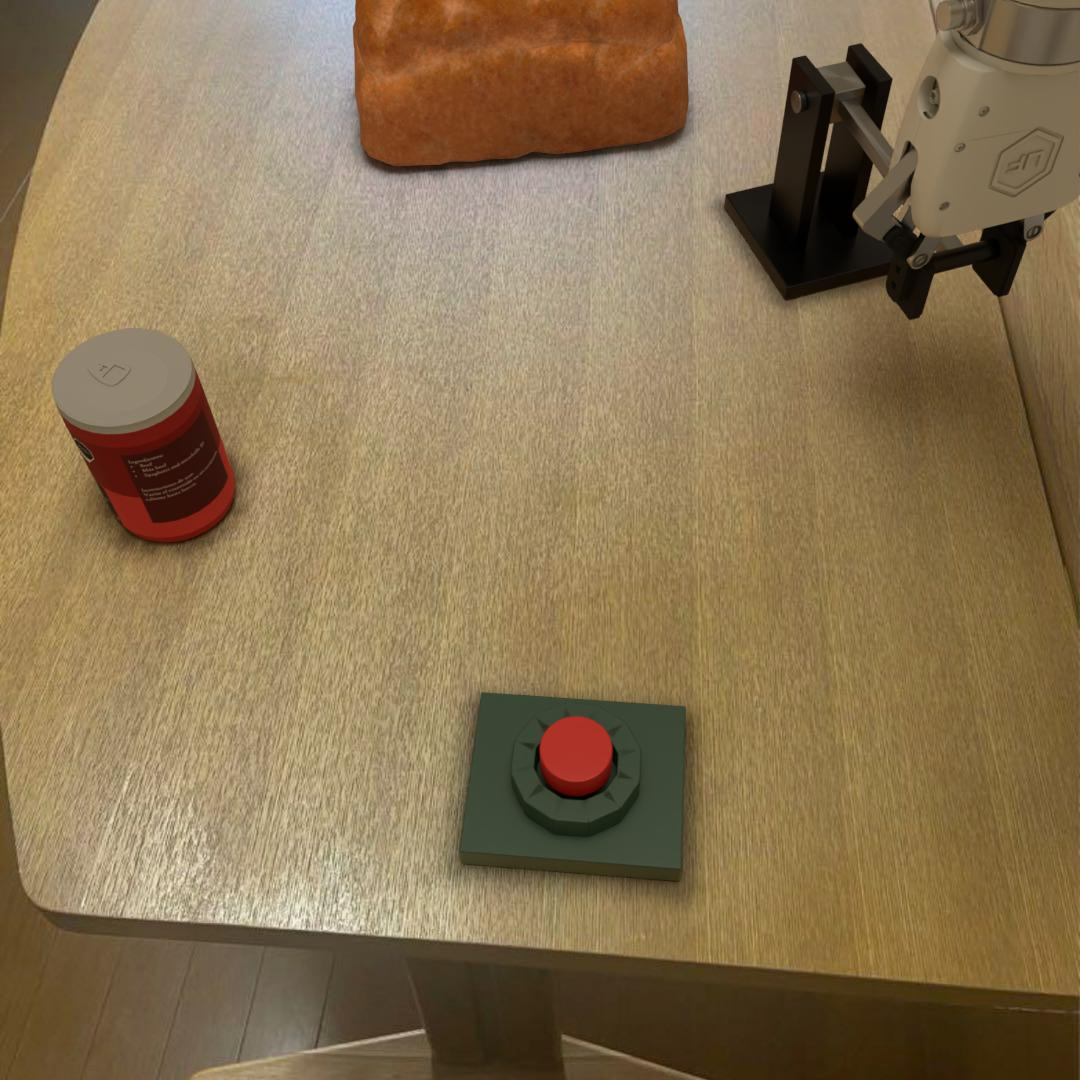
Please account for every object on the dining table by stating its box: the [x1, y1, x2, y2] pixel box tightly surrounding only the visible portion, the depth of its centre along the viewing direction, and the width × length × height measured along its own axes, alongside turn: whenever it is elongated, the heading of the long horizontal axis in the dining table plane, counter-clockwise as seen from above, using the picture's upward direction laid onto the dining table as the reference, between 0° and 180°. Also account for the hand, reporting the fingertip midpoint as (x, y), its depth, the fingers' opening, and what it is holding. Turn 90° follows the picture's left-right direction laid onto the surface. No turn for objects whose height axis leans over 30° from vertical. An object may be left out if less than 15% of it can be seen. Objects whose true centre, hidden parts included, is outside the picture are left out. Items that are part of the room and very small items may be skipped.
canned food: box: [51, 327, 236, 543], centre depth 71 cm, size 8×8×11 cm
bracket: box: [723, 42, 894, 301], centre depth 82 cm, size 11×9×14 cm
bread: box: [352, 0, 690, 167], centre depth 92 cm, size 14×26×16 cm, turn 96°
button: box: [540, 716, 613, 796], centre depth 59 cm, size 4×4×2 cm
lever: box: [816, 60, 1000, 275], centre depth 74 cm, size 18×5×2 cm, turn 18°
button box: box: [458, 691, 687, 882], centre depth 61 cm, size 11×9×4 cm
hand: (946, 290), depth 72 cm, fingers closed on lever, 5 cm apart
